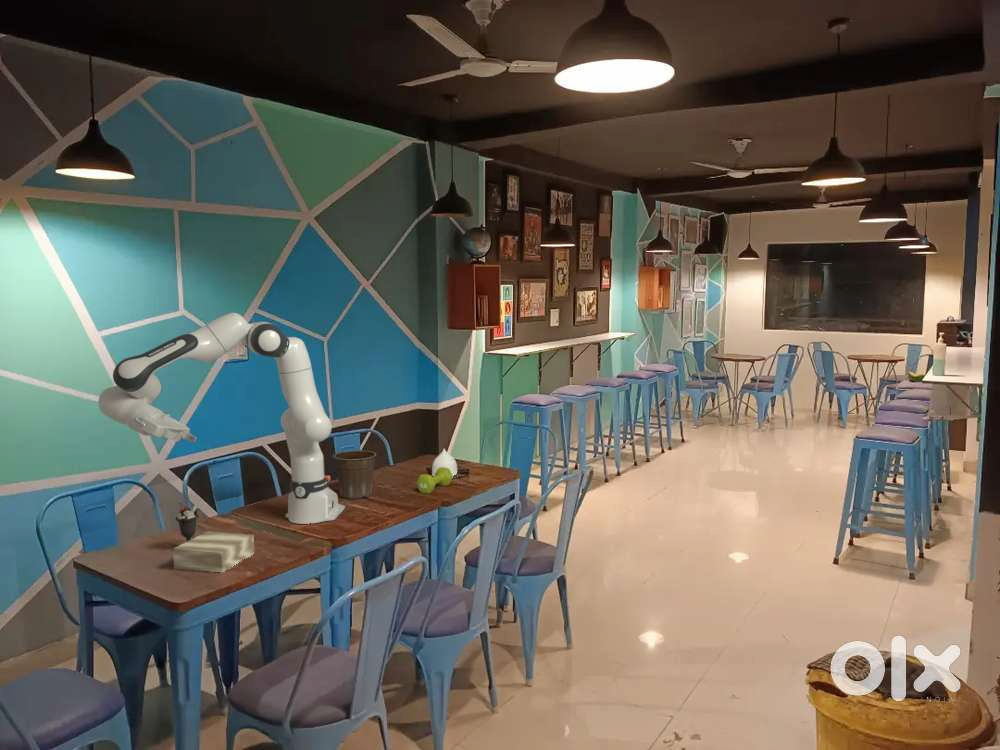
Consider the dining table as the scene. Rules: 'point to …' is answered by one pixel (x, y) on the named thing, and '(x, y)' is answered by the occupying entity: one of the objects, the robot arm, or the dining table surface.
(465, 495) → the dining table surface
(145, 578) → the dining table surface
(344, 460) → the plant pot
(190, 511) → the sundae
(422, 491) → the dumbbell
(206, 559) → the cream block
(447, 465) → the teardrop
